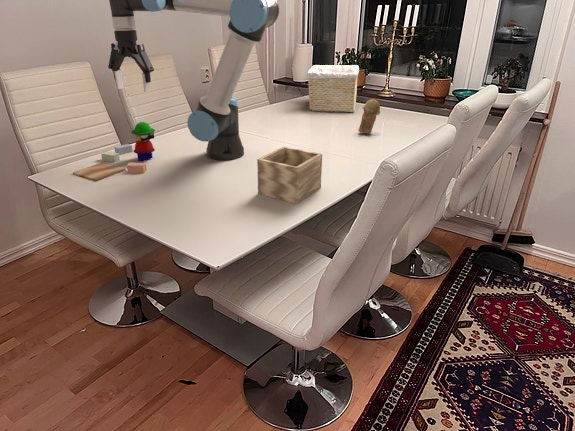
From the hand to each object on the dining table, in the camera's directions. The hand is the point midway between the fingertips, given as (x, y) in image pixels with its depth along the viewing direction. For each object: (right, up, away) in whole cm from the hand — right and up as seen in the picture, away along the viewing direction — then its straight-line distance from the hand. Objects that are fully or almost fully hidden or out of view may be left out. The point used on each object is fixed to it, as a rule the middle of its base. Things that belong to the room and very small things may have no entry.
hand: (134, 90), depth 178 cm
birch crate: (+58, -39, -18) cm, 72 cm away
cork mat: (-11, -31, -4) cm, 33 cm away
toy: (+2, -25, +9) cm, 27 cm away
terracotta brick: (+2, -31, -3) cm, 31 cm away
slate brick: (-9, -22, +17) cm, 29 cm away
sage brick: (-12, -26, +8) cm, 29 cm away
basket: (+83, +14, +90) cm, 123 cm away
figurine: (+95, -9, +44) cm, 105 cm away
